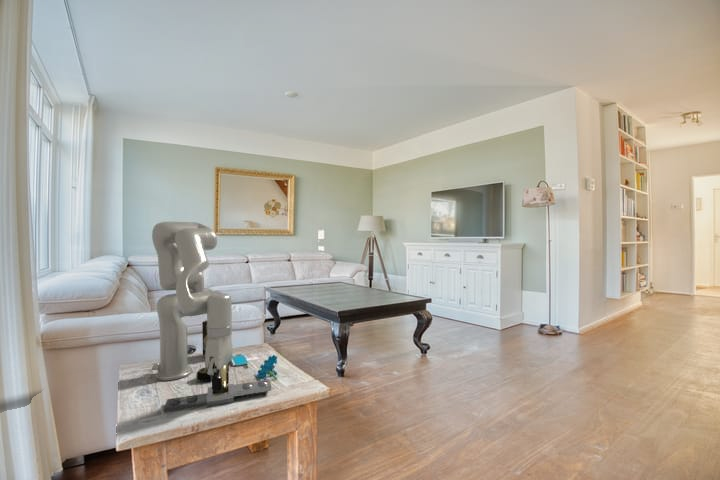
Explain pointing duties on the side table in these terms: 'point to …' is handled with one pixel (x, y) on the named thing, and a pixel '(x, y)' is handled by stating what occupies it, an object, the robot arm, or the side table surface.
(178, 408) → the gray studded rail
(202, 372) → the tape measure
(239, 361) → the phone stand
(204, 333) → the coffee box
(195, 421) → the side table surface
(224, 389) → the pin
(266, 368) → the gear
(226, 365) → the robot arm
